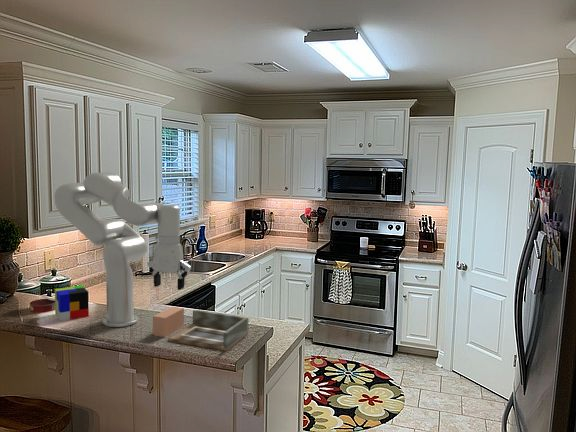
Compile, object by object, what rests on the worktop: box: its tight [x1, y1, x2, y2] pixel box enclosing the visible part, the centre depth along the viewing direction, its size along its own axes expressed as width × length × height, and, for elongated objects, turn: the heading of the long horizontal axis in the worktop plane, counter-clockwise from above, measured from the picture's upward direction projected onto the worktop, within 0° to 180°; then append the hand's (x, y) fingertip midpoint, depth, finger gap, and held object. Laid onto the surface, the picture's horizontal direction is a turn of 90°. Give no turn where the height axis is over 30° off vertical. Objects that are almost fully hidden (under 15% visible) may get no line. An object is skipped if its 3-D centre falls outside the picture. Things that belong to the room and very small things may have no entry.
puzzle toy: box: [54, 285, 90, 322], centre depth 184 cm, size 10×10×10 cm
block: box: [152, 306, 185, 338], centre depth 170 cm, size 12×5×7 cm, turn 161°
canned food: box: [29, 289, 55, 314], centre depth 191 cm, size 11×10×10 cm
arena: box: [167, 309, 250, 352], centre depth 165 cm, size 22×17×6 cm
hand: (169, 287), depth 169 cm, fingers open, 9 cm apart
